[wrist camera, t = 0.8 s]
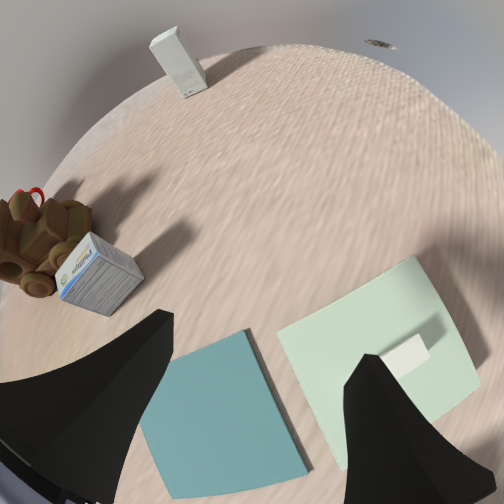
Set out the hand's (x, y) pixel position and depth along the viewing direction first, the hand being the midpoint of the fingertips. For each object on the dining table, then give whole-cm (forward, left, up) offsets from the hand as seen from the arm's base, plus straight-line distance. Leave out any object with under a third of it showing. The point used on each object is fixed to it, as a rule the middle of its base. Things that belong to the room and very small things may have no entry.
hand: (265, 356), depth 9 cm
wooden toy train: (+29, +31, -16) cm, 46 cm away
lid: (-4, -6, -13) cm, 14 cm away
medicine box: (+17, +18, -16) cm, 30 cm away
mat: (-3, +12, -16) cm, 20 cm away
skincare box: (+55, -4, -16) cm, 58 cm away
